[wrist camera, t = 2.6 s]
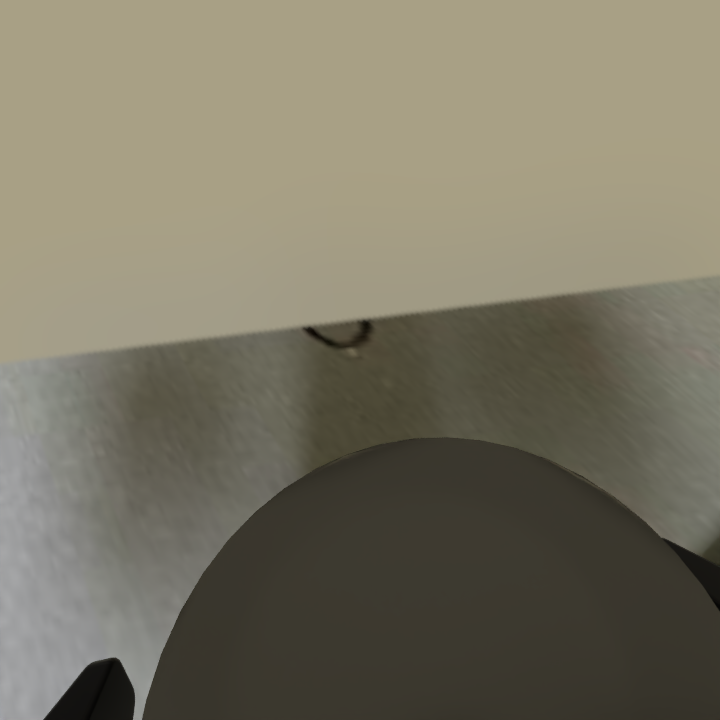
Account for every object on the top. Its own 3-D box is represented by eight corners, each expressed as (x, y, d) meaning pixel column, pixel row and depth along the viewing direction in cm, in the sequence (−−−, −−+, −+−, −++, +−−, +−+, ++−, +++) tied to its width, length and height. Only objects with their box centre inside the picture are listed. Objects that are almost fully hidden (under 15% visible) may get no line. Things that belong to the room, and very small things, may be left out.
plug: (479, 621, 15) (938, 845, 3) (361, 725, 14) (407, 1615, 2) (390, 498, 16) (488, 342, 4) (276, 586, 15) (20, 678, 3)
